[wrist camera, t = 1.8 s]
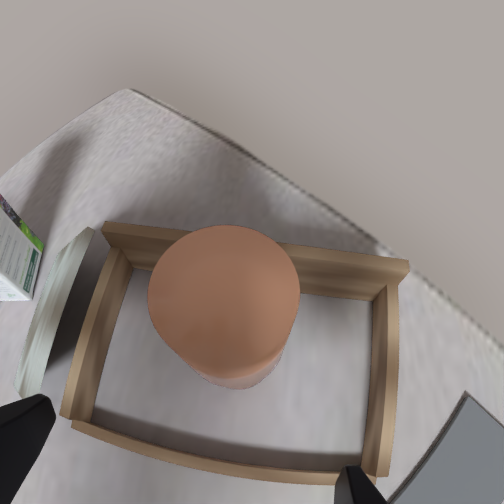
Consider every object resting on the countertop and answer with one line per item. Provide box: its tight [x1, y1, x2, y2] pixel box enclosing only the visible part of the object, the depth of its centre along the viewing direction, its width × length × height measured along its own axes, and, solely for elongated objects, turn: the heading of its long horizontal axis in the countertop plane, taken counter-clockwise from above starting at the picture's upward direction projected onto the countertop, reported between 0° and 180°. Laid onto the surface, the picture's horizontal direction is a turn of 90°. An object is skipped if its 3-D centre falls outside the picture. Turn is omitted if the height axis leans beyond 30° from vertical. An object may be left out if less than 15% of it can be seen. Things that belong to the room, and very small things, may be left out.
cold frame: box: [14, 221, 410, 485], centre depth 18 cm, size 14×27×6 cm, turn 81°
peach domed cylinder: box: [147, 225, 300, 389], centre depth 16 cm, size 5×5×11 cm
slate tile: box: [390, 396, 504, 504], centre depth 14 cm, size 10×10×1 cm
